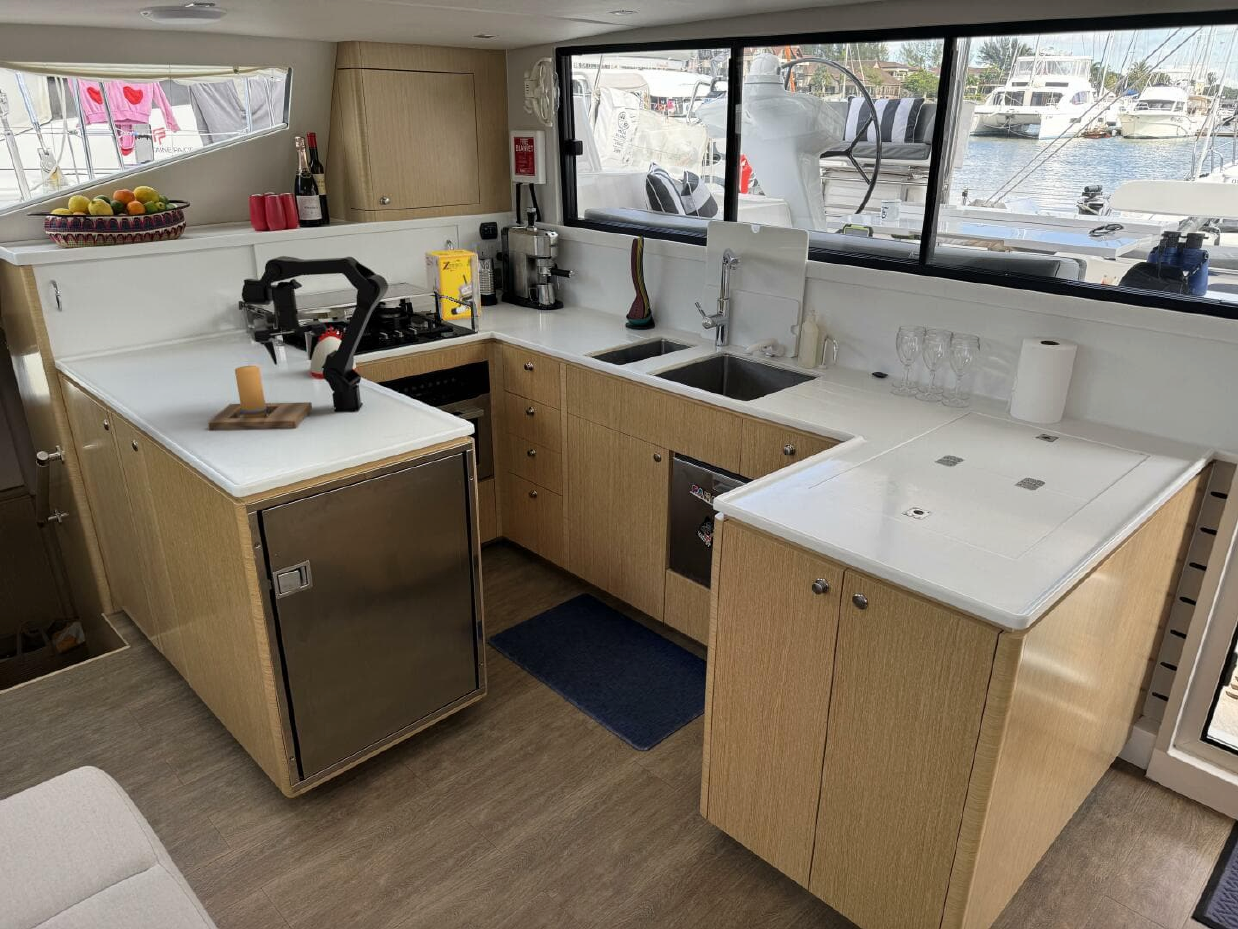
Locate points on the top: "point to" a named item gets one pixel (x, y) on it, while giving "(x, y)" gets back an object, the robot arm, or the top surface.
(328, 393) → the top surface
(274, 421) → the wooden frame
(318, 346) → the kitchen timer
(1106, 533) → the top surface
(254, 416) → the orange round cylinder
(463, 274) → the packaging box
